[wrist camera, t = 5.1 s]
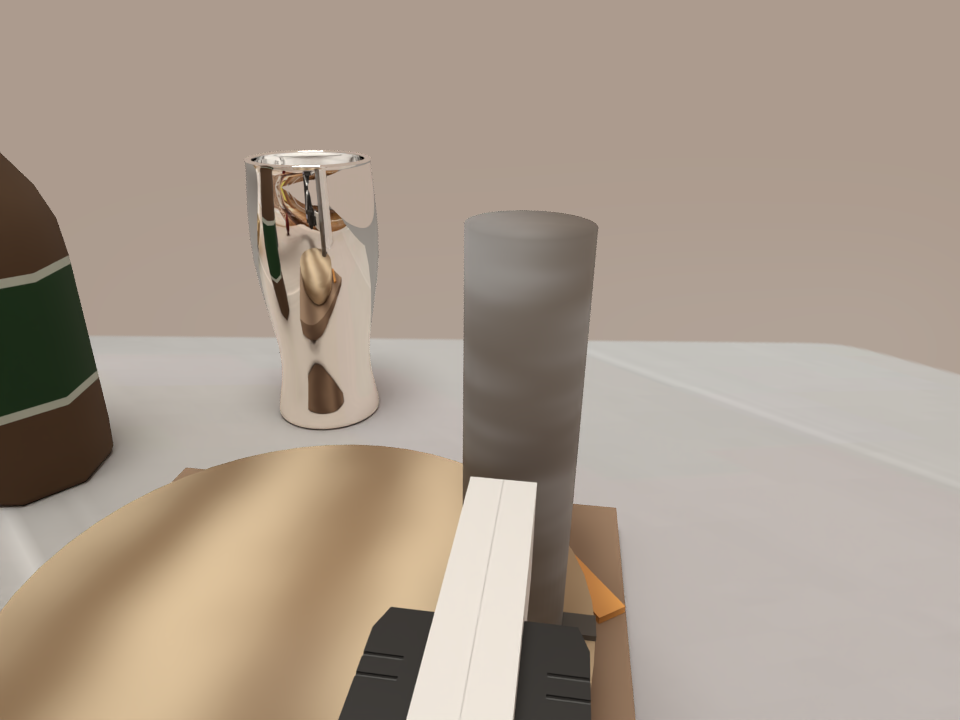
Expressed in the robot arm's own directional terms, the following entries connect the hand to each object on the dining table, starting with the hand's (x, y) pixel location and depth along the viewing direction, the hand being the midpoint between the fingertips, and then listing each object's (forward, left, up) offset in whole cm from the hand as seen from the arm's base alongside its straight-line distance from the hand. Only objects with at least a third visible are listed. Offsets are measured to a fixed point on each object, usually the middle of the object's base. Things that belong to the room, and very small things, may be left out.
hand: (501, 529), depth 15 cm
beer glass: (-13, +23, -10) cm, 28 cm away
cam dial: (-6, +3, -9) cm, 11 cm away
